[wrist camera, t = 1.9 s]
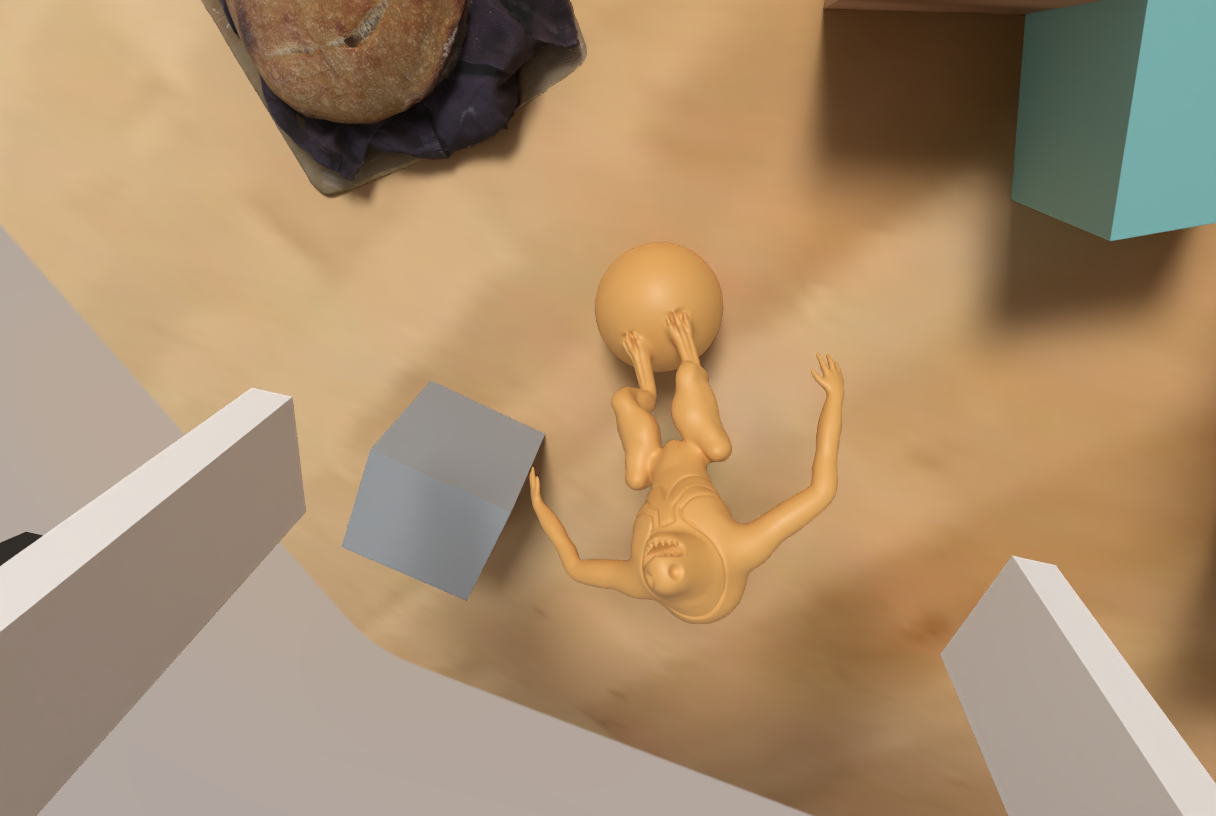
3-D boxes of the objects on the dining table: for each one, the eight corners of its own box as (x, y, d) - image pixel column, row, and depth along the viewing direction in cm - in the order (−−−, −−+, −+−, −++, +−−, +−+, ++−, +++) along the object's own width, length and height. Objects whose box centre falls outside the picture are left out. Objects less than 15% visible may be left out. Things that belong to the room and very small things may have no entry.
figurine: (755, 172, 18) (822, 311, 8) (823, 337, 20) (947, 616, 10) (532, 290, 21) (363, 506, 10) (613, 422, 23) (539, 707, 13)
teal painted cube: (1263, -63, 14) (1512, -123, 10) (1213, 159, 16) (1397, 191, 12) (1024, 0, 15) (1151, -27, 11) (1010, 199, 17) (1110, 241, 13)
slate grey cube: (545, 433, 24) (511, 512, 20) (505, 514, 26) (466, 600, 22) (431, 379, 23) (370, 449, 19) (401, 467, 26) (341, 547, 22)
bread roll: (338, 209, 21) (273, 235, 18) (178, -66, 17) (62, -93, 14) (610, 85, 18) (589, 90, 15) (483, -285, 14) (418, -383, 11)
